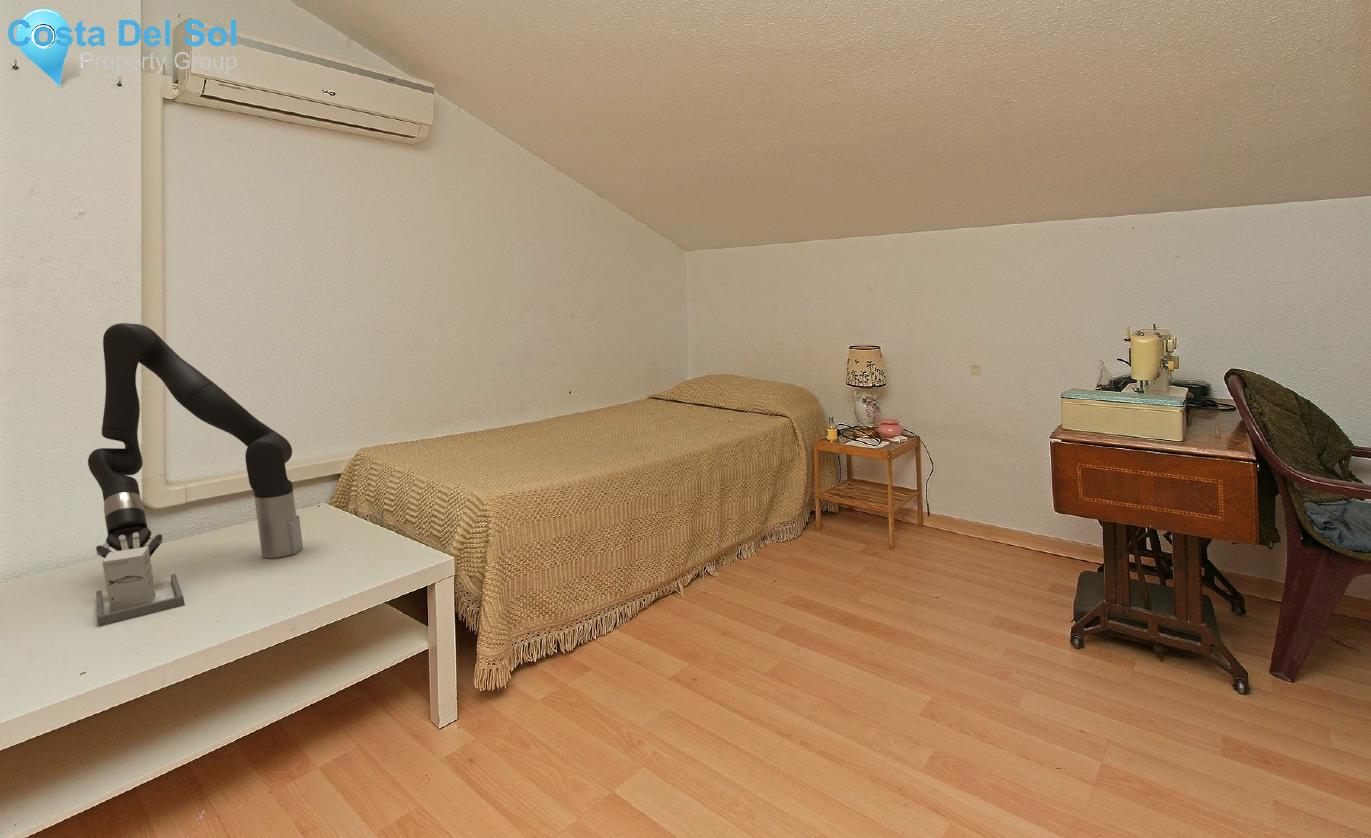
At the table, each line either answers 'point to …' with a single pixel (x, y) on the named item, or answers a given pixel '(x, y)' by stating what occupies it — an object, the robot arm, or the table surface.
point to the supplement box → (128, 578)
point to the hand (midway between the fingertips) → (135, 575)
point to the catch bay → (138, 610)
